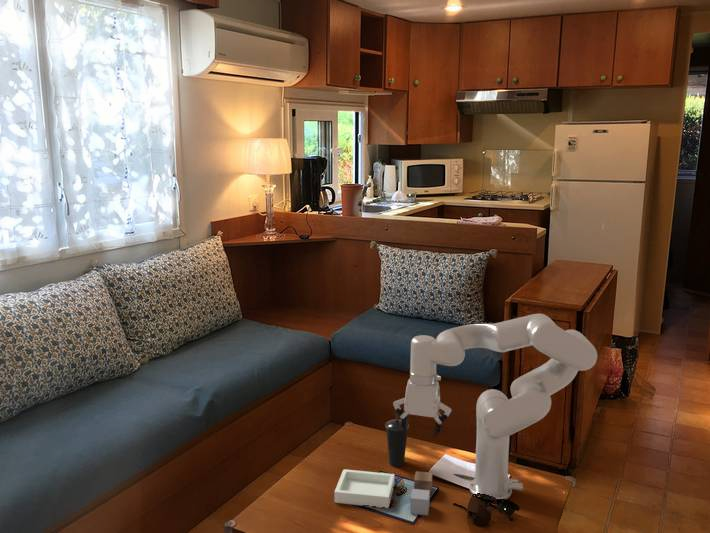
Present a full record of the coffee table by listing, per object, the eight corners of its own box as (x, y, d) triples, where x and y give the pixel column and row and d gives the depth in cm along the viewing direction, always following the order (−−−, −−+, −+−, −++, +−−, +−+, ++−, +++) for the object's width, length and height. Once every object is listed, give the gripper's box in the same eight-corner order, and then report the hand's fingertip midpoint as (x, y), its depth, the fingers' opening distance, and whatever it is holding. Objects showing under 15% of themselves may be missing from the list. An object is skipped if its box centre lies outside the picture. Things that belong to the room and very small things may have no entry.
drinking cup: (406, 470, 212) (407, 412, 208) (383, 467, 214) (383, 410, 210) (409, 458, 220) (410, 402, 215) (386, 456, 221) (387, 400, 217)
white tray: (394, 484, 204) (394, 474, 203) (388, 508, 192) (388, 497, 191) (343, 479, 207) (343, 469, 206) (334, 502, 195) (334, 491, 194)
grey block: (429, 505, 193) (429, 490, 192) (427, 515, 188) (428, 499, 187) (412, 504, 194) (412, 488, 193) (410, 513, 189) (410, 498, 188)
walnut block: (432, 487, 202) (432, 472, 201) (430, 496, 198) (431, 481, 197) (415, 486, 203) (415, 471, 202) (414, 494, 199) (414, 479, 198)
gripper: (454, 376, 194) (452, 430, 198) (397, 370, 199) (395, 422, 203) (450, 386, 187) (448, 442, 191) (391, 379, 192) (389, 433, 196)
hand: (421, 432), depth 197 cm, fingers open, 9 cm apart
